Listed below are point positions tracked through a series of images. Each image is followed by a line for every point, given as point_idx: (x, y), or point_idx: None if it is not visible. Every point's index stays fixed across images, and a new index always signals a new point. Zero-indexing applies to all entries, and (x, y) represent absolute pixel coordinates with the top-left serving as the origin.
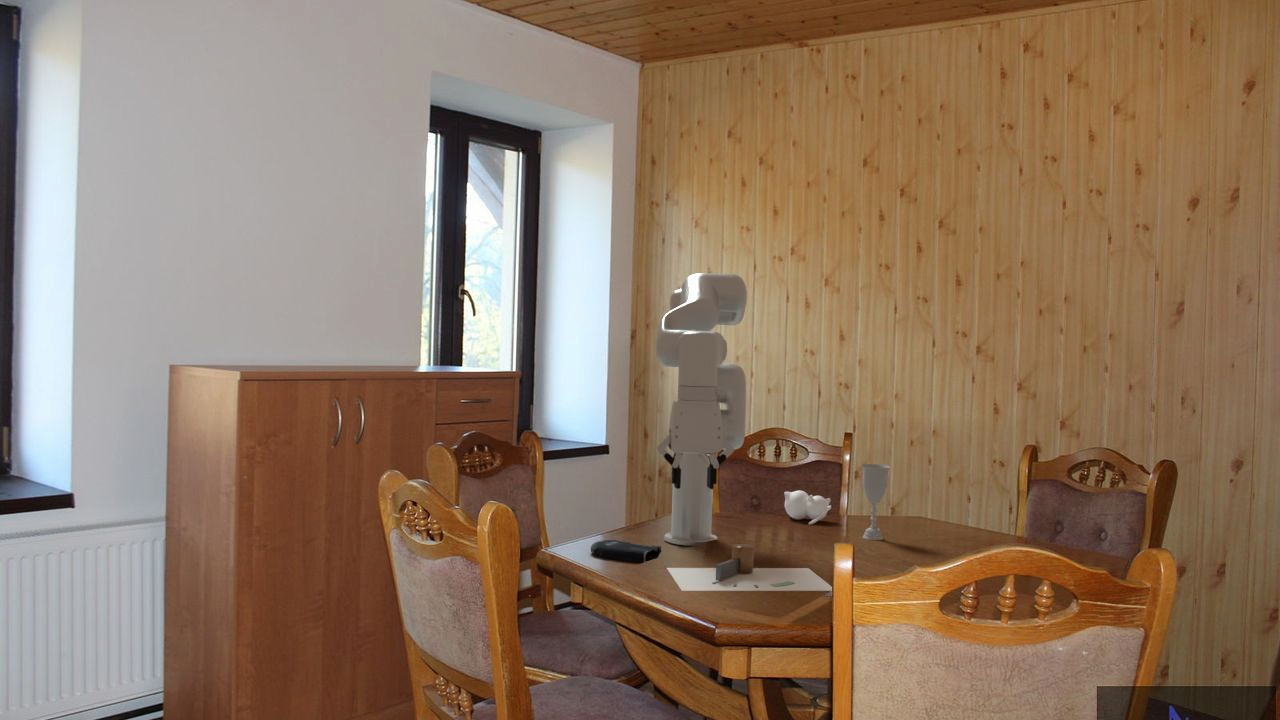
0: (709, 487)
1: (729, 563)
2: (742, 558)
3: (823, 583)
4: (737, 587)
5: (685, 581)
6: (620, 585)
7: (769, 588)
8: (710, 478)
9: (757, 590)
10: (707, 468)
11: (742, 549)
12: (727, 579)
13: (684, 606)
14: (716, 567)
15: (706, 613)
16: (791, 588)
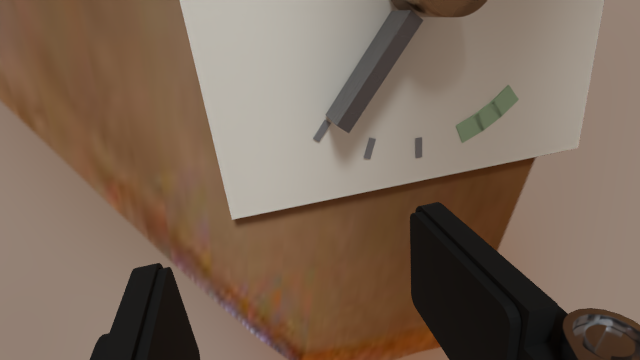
0: (414, 297)
1: (380, 83)
2: (433, 16)
3: (580, 88)
4: (372, 164)
5: (239, 127)
6: (38, 127)
7: (444, 158)
8: (451, 356)
9: (413, 181)
10: (502, 306)
11: (448, 16)
12: None
13: (240, 278)
14: (335, 124)
15: (285, 310)
16: (493, 148)
